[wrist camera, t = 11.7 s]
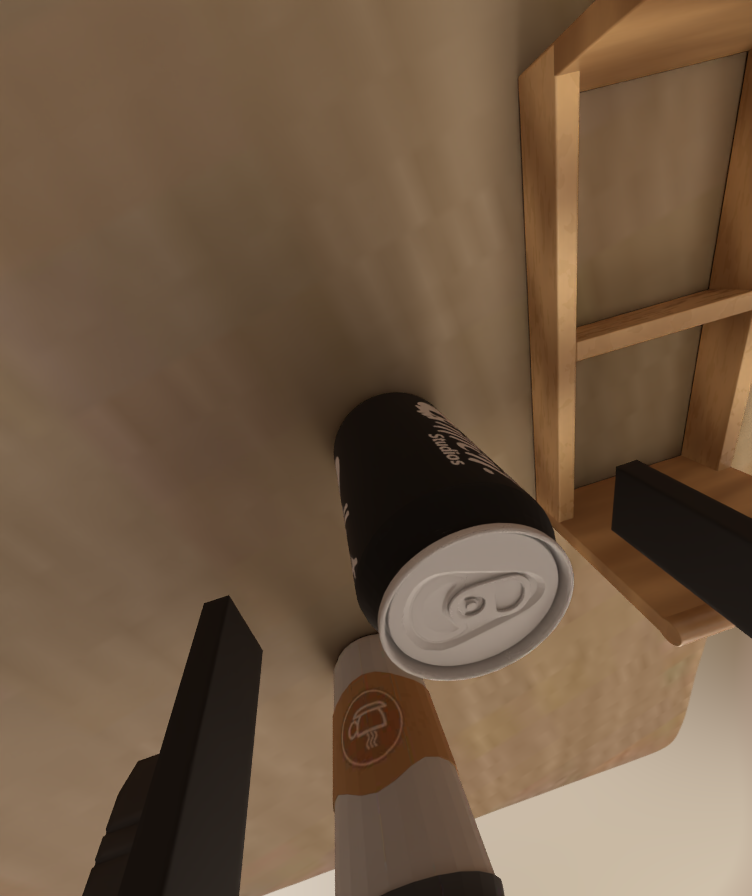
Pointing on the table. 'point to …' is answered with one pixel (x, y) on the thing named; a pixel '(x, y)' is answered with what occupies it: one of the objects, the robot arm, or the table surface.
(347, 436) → the beverage can
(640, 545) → the robot arm
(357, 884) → the coffee cup
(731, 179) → the rack
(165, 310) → the table surface
